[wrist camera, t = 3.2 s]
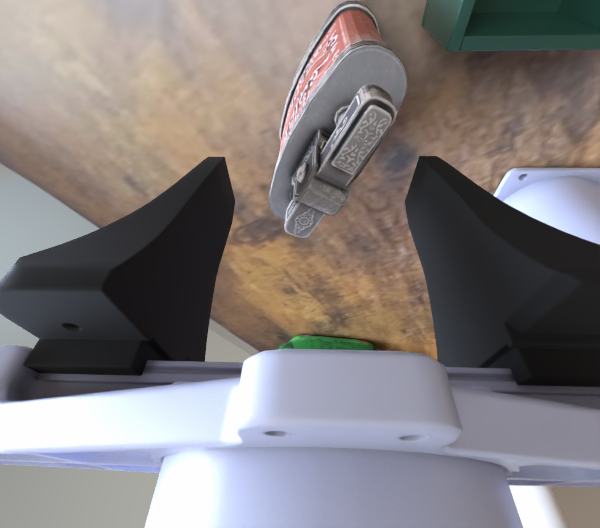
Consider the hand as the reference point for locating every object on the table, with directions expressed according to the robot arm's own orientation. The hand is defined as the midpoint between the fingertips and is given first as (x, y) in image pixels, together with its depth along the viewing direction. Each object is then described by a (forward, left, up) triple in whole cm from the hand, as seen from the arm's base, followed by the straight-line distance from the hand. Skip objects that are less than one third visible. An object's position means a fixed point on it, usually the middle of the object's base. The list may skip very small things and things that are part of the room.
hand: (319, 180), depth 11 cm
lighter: (0, 0, -9) cm, 9 cm away
